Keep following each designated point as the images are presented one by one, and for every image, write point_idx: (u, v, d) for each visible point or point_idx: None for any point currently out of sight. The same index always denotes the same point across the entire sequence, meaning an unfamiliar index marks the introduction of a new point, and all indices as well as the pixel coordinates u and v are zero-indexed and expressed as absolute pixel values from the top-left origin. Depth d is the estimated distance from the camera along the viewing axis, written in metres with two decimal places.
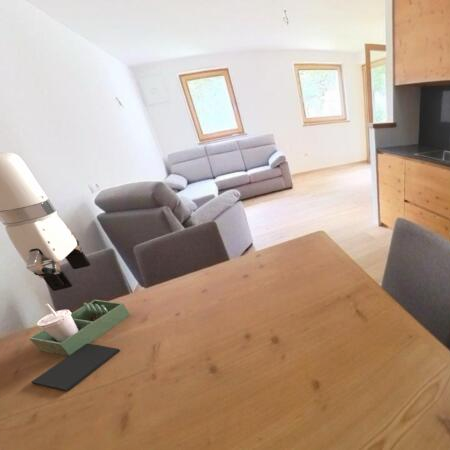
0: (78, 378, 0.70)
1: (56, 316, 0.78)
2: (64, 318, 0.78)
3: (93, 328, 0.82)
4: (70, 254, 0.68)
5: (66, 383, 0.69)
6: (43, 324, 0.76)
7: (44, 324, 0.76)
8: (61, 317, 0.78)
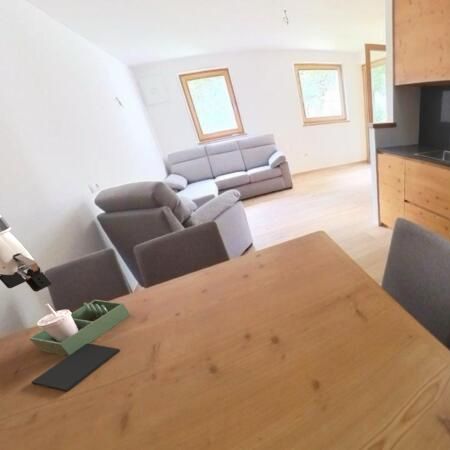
0: (78, 378, 0.70)
1: (56, 316, 0.78)
2: (64, 318, 0.78)
3: (93, 328, 0.82)
4: None
5: (66, 383, 0.69)
6: (43, 324, 0.76)
7: (44, 324, 0.76)
8: (61, 317, 0.78)
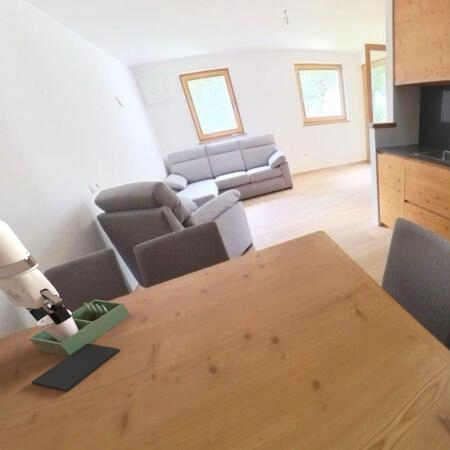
0: (78, 378, 0.70)
1: None
2: None
3: (93, 328, 0.82)
4: None
5: (66, 383, 0.69)
6: (43, 324, 0.76)
7: (44, 324, 0.76)
8: None
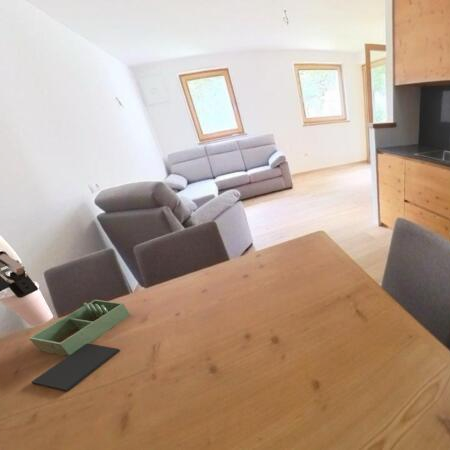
0: (78, 378, 0.70)
1: None
2: None
3: (93, 328, 0.82)
4: None
5: (66, 383, 0.69)
6: (2, 297, 0.62)
7: (3, 297, 0.62)
8: None
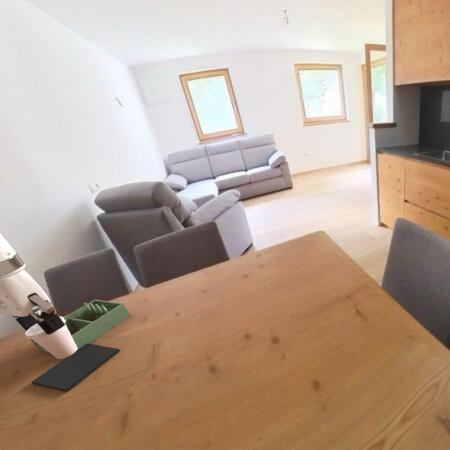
0: (78, 378, 0.70)
1: None
2: None
3: (93, 328, 0.82)
4: None
5: (66, 383, 0.69)
6: (32, 334, 0.65)
7: (33, 334, 0.65)
8: None
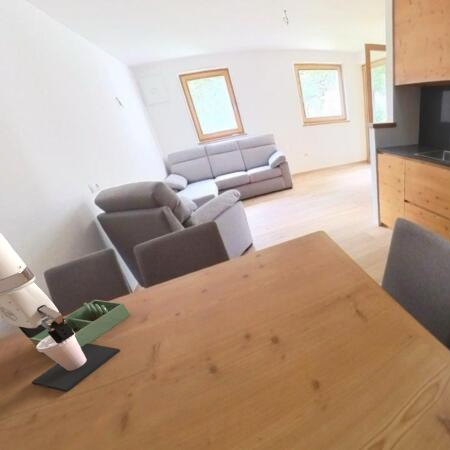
0: (78, 378, 0.70)
1: None
2: (67, 340, 0.70)
3: (93, 328, 0.82)
4: None
5: (66, 383, 0.69)
6: (43, 347, 0.67)
7: (45, 347, 0.67)
8: None
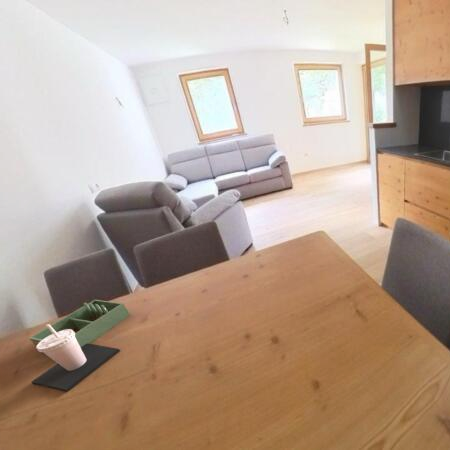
0: (78, 378, 0.70)
1: (58, 337, 0.70)
2: (67, 340, 0.70)
3: (93, 328, 0.82)
4: None
5: (66, 383, 0.69)
6: (43, 347, 0.67)
7: (45, 347, 0.67)
8: (64, 339, 0.70)
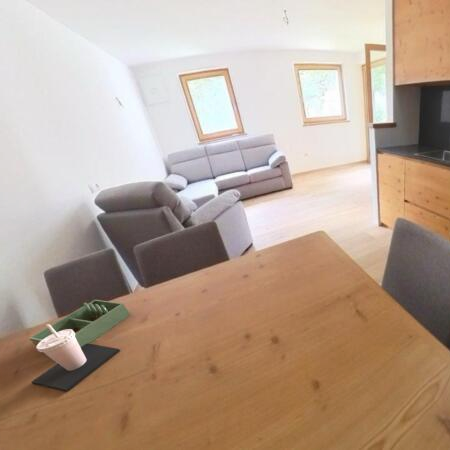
0: (78, 378, 0.70)
1: (58, 337, 0.70)
2: (67, 340, 0.70)
3: (93, 328, 0.82)
4: None
5: (66, 383, 0.69)
6: (43, 347, 0.67)
7: (45, 347, 0.67)
8: (64, 339, 0.70)
